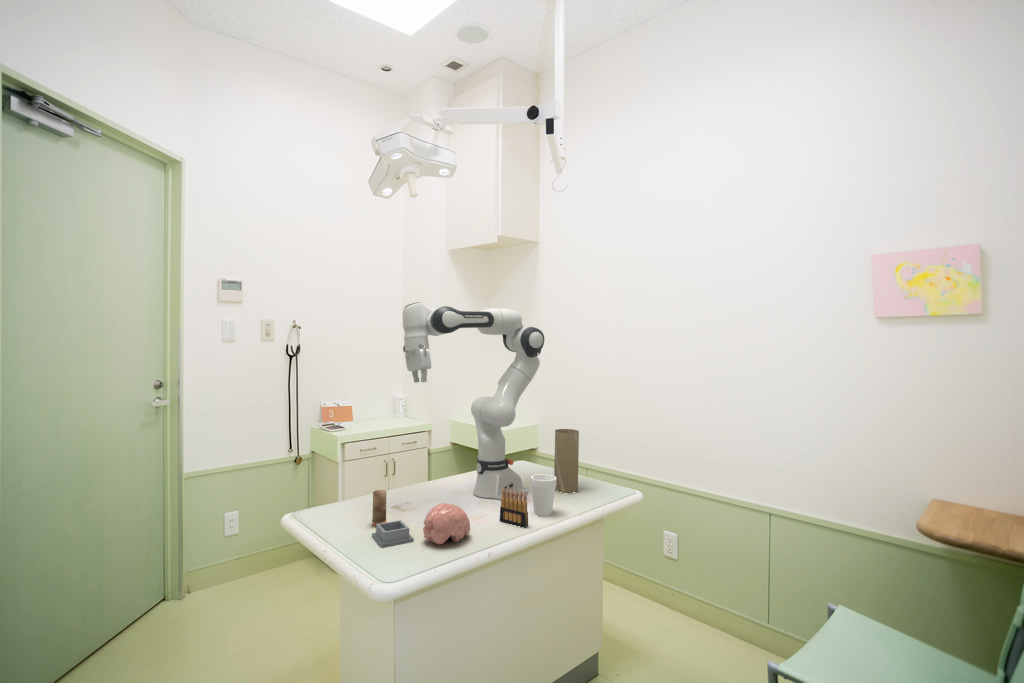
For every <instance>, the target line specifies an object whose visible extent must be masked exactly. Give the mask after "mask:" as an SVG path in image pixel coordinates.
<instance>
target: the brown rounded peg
mask: <svg viewBox="0 0 1024 683" xmlns="http://www.w3.org/2000/svg"><path fill="white" fill-rule="evenodd" d="M387 493H388V492H387V490H385V489H377V490H374V491H373V492H372V521H371V522H372V523H371V525H372V527H374V528H376V524H381V523H386V522H387Z"/></svg>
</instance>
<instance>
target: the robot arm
mask: <svg viewBox="0 0 1024 683" xmlns="http://www.w3.org/2000/svg"><path fill="white" fill-rule="evenodd" d="M402 328H403V331H404V337H403V339H404V340H403V341H404V345H403V347H402V350H403V353H404V357H405V358H404V359H405V365H406V369H407V371H408V372H411V375H412V378H413V383H420V382H421V383H427V382H428V381H427V380H428V379H427V376H428V370H431V368H432V360H431V354H430V344H429V336H433V337H439V336H442V335H447V334H451V333H454V332H456V331H458V329H459V330H460V329H477V330H478V331H479V332H480V333H481V335H482V334H484V335H490V336H492V335H493V336H497V335H498V336H499V335H502V342H503V346H504V347H505V349H507V351H509V352H511V353H515V357H514V359H513V361H512V363H511V364H510V365H509V366H508V368H506V370H505V372H503V374H502V376H501V377H500V378H499V380H498V382H497V385H498V387H497V389H496V391H495V394H494V395H493V396H492V397H491V396H479V397H477V398H475V399H474V401H473V402H472V404H471V406H470V412H471V416H473V418H474V423H475V428H476V433H477V441H478V442H477V443H478V444H477V449H478V452H477V454H478V455H477V456H478V457H477V458H476V473H477V474H476V481H475V486H474V489H473V495H474V496H476V497H480V498H485V499H497V500H501V498H502V489H503V487H504V488H505V497H506V491H507V488H509V496H510V493H511V489H513V493H514V495H515V490H516V489H517V492H518V496H519V493H520V490H521V492H522V495H524V492H526V494H527V493H528V488H527V487H526V486H524V485H523V481H522V477H521V475H520V474H518V473H517V472H516V471H514V470H513V469H512V468H511V467H510V466H512V465H513V464H514V460H513V459H507V458H506V439H505V435H504V434H503V431H502V428H505V427H509V426H510V425H512V424H513V423H514V421H515V418H516V414H517V413H516V408H517V405H518V403H519V399H520V397H521V396H522V394H523V393H524V391H525V390H526V389H527V387H528V386H529V384H530V383H531V381H533V379H534V377H535V375H536V374H537V372H538V369H539V367H540V365H541V364H540V363H541V362H540V358H539V357H538V356H539V355H540V354H541V352H542V349H543V347H544V344H545V336H544V332H543V331H542V330H541V329H539V328H538V327H535V326H524V325H523V318H522V315H521V313H520V312H518V311H517V310H515V309H511V308H505V307H490V308H484V309H480V310H479V311H478V310H477V311H473V310H472V311H467V310H466V311H462V310H458V309H456V308H453V307H451V306H448V305H445V306H444V305H443V306H440V307H438V308H437V309H434V308H432V307H429V306H427V305H426V304H425V303H423V302H421V301H417V302H412V303H409V304H407V305H405V306H404V307H403V309H402ZM419 371H420V377H419ZM509 465H510V466H509Z"/></svg>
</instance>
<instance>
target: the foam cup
mask: <svg viewBox="0 0 1024 683" xmlns="http://www.w3.org/2000/svg"><path fill="white" fill-rule="evenodd" d="M530 486H531V493H532V494H531V497H532V504H533V511H534V512H533V513H535V514H534V515H535V516H538V515H539V516H538V517H549V516H548V515H550V516H551V515H552V513H553V508H554V500H555V493H556V491H555V488H556V477H555V476H554V475H552V474H545V473H542V474H541V473H540V474H537V473H536V474H533V475H531V476H530Z"/></svg>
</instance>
